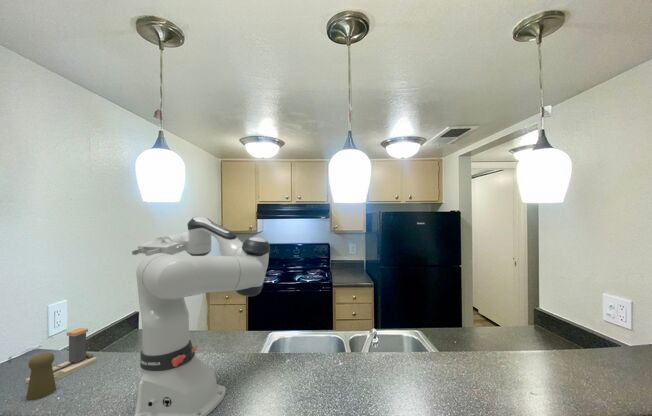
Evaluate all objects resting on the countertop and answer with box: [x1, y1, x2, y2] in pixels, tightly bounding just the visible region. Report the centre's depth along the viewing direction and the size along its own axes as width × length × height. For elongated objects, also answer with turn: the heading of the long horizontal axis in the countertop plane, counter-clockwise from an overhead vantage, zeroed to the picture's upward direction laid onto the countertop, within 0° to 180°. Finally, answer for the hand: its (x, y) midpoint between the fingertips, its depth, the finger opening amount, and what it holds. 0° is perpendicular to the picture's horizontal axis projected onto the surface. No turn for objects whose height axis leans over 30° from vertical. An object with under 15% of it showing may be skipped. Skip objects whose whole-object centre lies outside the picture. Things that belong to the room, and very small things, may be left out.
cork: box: [25, 352, 57, 402], centre depth 79 cm, size 6×6×11 cm
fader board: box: [25, 352, 98, 385], centre depth 90 cm, size 8×15×2 cm, turn 164°
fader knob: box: [66, 327, 89, 363], centre depth 95 cm, size 4×4×10 cm
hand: (139, 253), depth 111 cm, fingers open, 8 cm apart
